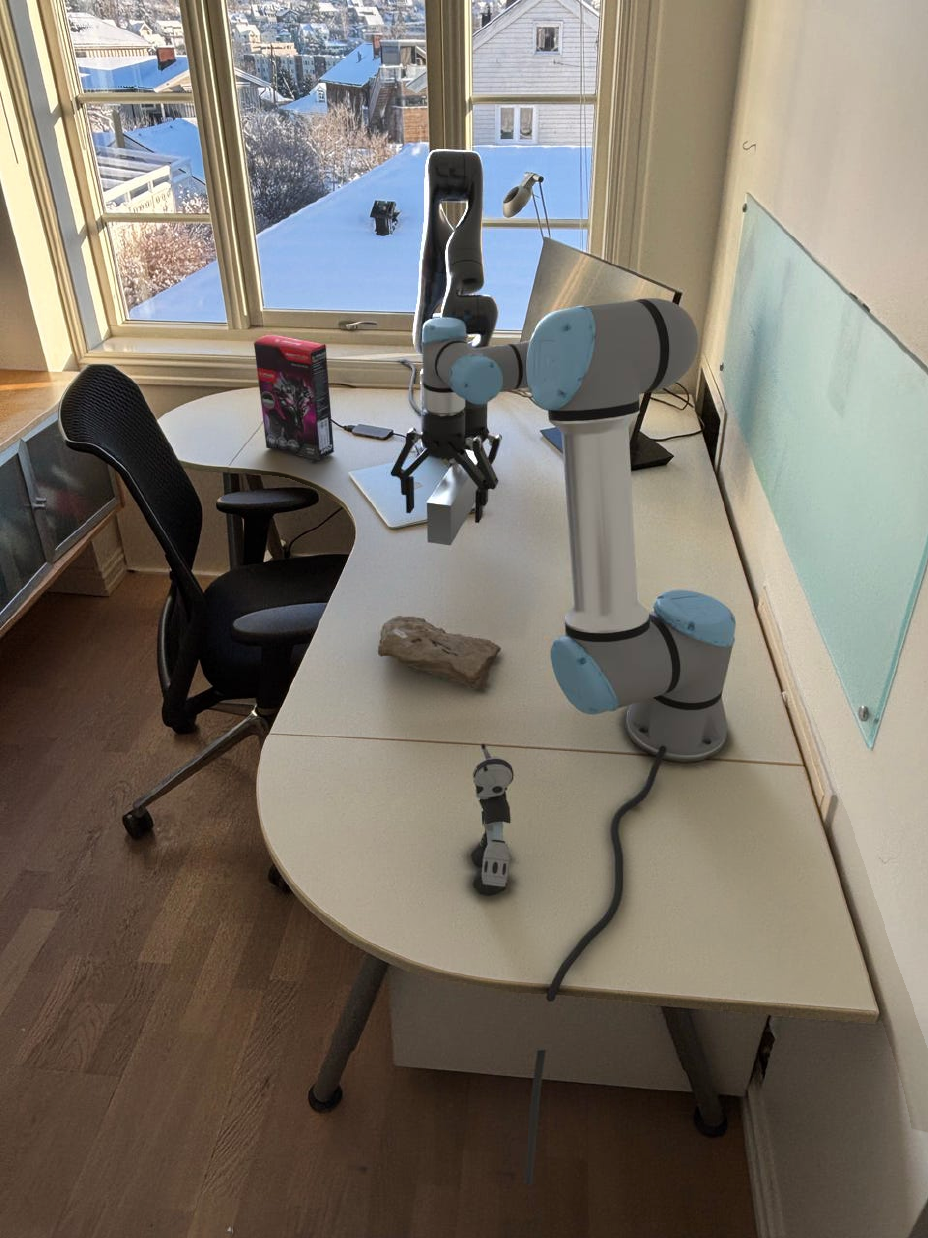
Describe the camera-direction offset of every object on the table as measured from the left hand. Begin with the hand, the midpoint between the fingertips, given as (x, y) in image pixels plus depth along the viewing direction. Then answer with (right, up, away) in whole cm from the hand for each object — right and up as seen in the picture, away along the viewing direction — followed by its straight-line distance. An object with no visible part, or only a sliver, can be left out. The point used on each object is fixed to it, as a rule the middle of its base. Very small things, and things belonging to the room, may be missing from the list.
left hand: (467, 479), depth 189 cm
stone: (-6, -36, -33) cm, 49 cm away
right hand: (-4, -9, -14) cm, 17 cm away
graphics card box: (-42, +13, +41) cm, 60 cm away
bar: (-2, -8, -5) cm, 9 cm away
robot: (+3, -61, -70) cm, 93 cm away
